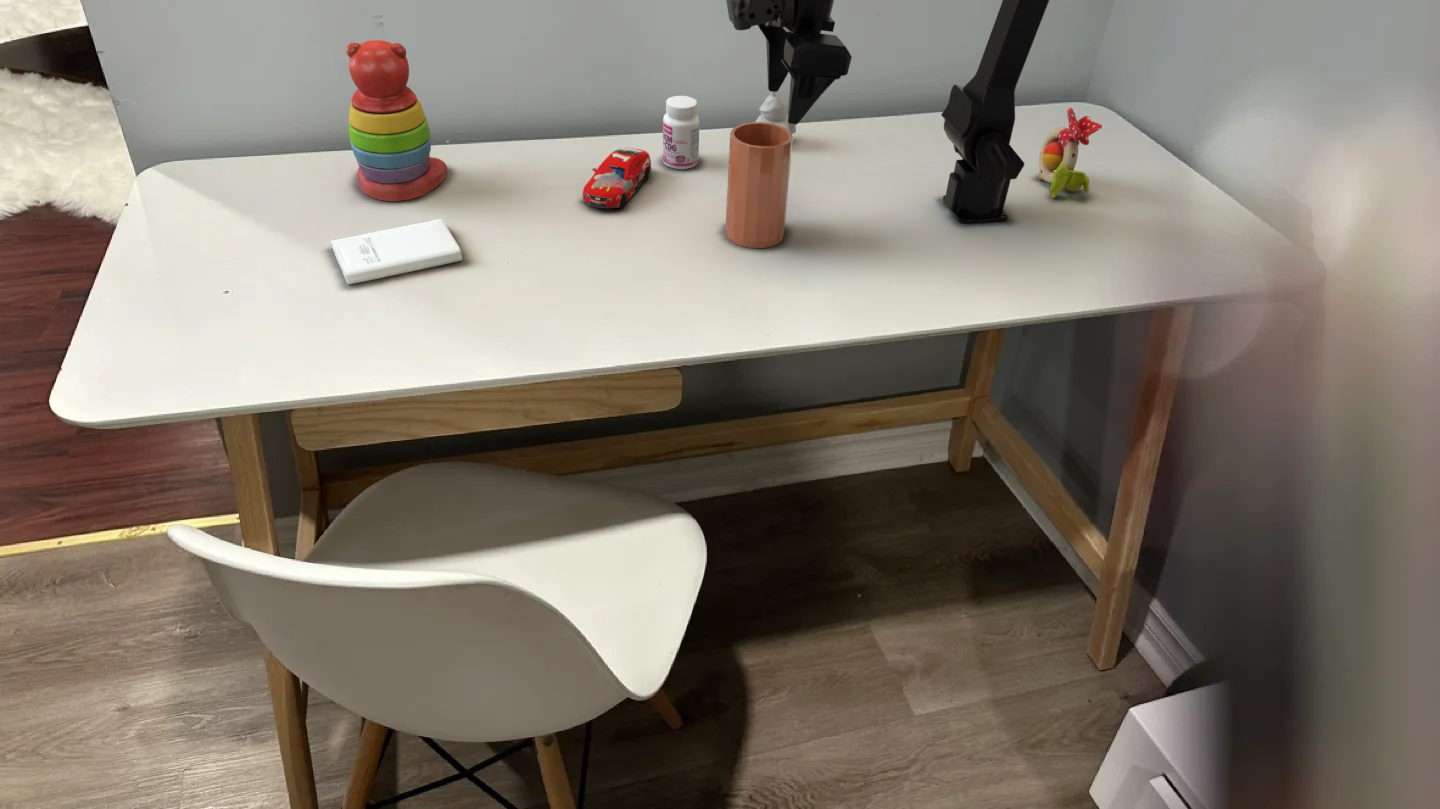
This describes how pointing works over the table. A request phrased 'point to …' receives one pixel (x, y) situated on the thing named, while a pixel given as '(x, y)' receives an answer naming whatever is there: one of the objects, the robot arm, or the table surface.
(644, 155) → the race car
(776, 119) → the white rounded figure
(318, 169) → the table surface
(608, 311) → the table surface
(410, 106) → the stacking bear
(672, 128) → the pill bottle
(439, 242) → the hard drive
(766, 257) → the table surface
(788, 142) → the pencil cup
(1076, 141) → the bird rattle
